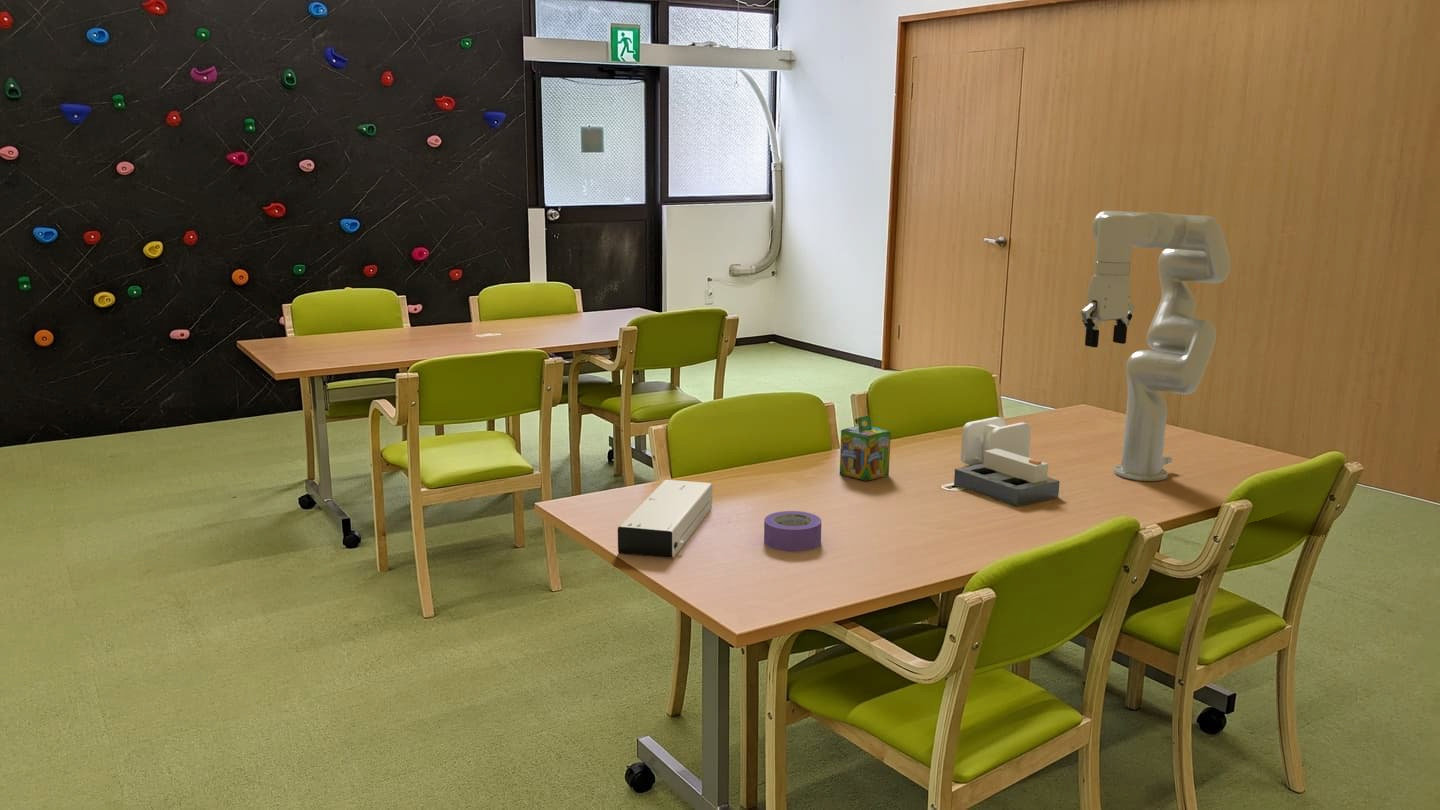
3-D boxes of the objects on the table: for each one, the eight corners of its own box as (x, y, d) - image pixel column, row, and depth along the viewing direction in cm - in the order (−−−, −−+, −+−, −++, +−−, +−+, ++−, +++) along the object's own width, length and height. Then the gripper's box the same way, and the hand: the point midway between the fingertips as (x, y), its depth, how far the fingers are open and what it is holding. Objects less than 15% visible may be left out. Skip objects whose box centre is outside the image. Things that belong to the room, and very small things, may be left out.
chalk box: (866, 482, 279) (869, 423, 276) (838, 474, 285) (840, 416, 282) (890, 475, 285) (893, 417, 282) (862, 467, 292) (864, 411, 288)
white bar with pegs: (994, 477, 282) (997, 446, 280) (1045, 494, 269) (1048, 461, 267) (982, 480, 280) (984, 448, 278) (1032, 496, 267) (1035, 463, 265)
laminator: (664, 505, 260) (664, 479, 259) (716, 509, 258) (717, 483, 256) (617, 556, 228) (617, 526, 227) (677, 562, 225) (677, 532, 224)
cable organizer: (990, 475, 286) (993, 430, 284) (958, 466, 294) (960, 422, 292) (1028, 466, 295) (1032, 422, 292) (996, 457, 303) (999, 414, 301)
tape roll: (779, 555, 229) (779, 531, 228) (754, 537, 239) (754, 514, 238) (831, 548, 234) (832, 524, 233) (804, 530, 244) (805, 508, 243)
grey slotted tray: (994, 476, 285) (995, 461, 284) (1058, 497, 269) (1059, 480, 268) (953, 484, 278) (954, 469, 277) (1016, 506, 261) (1018, 490, 260)
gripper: (1122, 266, 265) (1116, 339, 269) (1072, 269, 256) (1066, 345, 260) (1150, 269, 259) (1143, 344, 263) (1100, 273, 250) (1093, 350, 254)
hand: (1105, 344), depth 261 cm, fingers open, 9 cm apart
